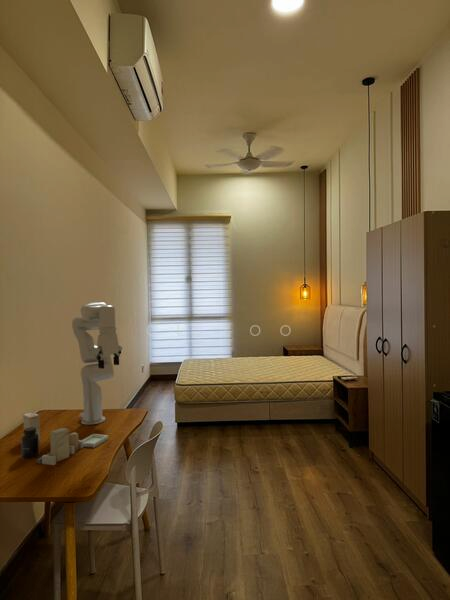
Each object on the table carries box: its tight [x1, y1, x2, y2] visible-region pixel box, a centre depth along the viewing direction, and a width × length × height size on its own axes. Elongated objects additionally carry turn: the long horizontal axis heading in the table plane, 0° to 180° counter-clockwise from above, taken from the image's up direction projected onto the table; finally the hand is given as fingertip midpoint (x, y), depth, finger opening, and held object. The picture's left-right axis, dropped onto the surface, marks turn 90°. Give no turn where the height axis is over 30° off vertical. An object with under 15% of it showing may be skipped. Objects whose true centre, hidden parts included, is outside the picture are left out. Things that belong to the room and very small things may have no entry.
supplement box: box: [22, 411, 41, 443], centre depth 182 cm, size 8×5×13 cm, turn 47°
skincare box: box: [49, 427, 70, 463], centre depth 161 cm, size 6×4×12 cm
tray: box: [81, 433, 109, 449], centre depth 178 cm, size 9×11×2 cm
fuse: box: [69, 432, 80, 453], centre depth 170 cm, size 4×4×8 cm
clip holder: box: [36, 439, 84, 466], centre depth 165 cm, size 8×19×3 cm, turn 162°
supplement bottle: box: [20, 427, 40, 460], centre depth 165 cm, size 7×7×12 cm
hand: (109, 366), depth 182 cm, fingers open, 9 cm apart
